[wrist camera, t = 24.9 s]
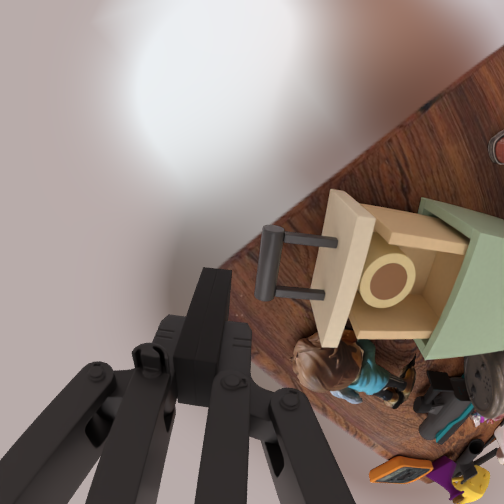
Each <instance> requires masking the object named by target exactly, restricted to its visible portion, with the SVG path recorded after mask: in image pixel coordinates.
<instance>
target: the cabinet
mask: <svg viewBox="0 0 504 504" xmlns="http://www.w3.org/2000/svg"><path fill="white" fill-rule="evenodd" d="M418 214H421V215H425V216H430V217H435V218H440V219H442V220H443V221H445V222H446V223H448V224H449V225H451V226H452V227H454V228H455V229H457V230H458V231H460V232H461V233H463V234H464V235H465V236H467V237H468V238H470V239H471V240H470V243H469V246H468V249H467V252H466V255H465V258H464V260H463V263H462V266H461V269H460V271H459V274H458V277H457V279H456V282H455V284H454V287H453V289H452V292H451V294H450V296H449V299H448V301H447V303H446V306H445V308H444V310H443V312H442V314H441V316H440V319H439V321H438V323H437V325H436V327H435V329H434V331H433V333H432V335H431V337H430V338H427V339H413V340H414V341H415V343H416V345H417V346H418V348H419V350H420V352H421V353H422V355H423V357H424V359H425V360H431V359H443V358H452V357H461V356H469V355H477V354H484V353H490V352H497V351H503V350H504V220H503V219H500V218H497V217H494V216H490V215H487V214H484V213H480V212H477V211H473V210H470V209H466V208H463V207H459V206H455V205H452V204H448V203H444V202H440V201H436V200H432V199H428V198H424V197H421V201H420V206H419V210H418Z"/></svg>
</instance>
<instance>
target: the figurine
mask: <svg viewBox="0 0 504 504" xmlns="http://www.w3.org/2000/svg"><path fill="white" fill-rule="evenodd" d="M293 356H294V357H291V358H289V360H290V361H291V362H293V371H294V372H295V374H297V378H299V380H300V383H301V384H302V385H303V386H305V387H307V388H308V389H310V390H311V391H314V392H318V393H322V392H329V391H330V392H331V393H332V394H333V395H334V396H336V397H338V398H343V399H345V400H347V401H348V402H350V403H352V404H358V403H361V402H363V401H362V398H361V397H360V396H359V394H358V393H359V392H366V395H367V394H369V395H375V396H377V397H380V398H382V399H383V400H384V404H385V405H387V406H389V407H392V408H393V409H397V408H398V406H399V405H400V404H402V403H403V402H404V401H406V400H407V398H408V397H409V395H410V393H411V391H412V389H413V386H414V383H415V379H416V371H415V367H414V365H415V359H416V353H415V356H414V359H413V360H412V361H411V362H410V363H409V364H408V365H406V366H404V367H403V369H402V370H401V371H400V373H399V374H398V376H395V375H393V374H391V373H390V372H388V371H387V370H385V369H384V368H382V367H380V366H378V365H377V364H376V363H375V345H374V344H373V343H372V342H371V341H370V340H369V339H357V337H356V335H355V332H354V331H352V330H343V333H342V336H341V339H340V342H339V344H338V347H337V348H330V347H321V342H320V338H319V334H318V332H316V333H315V334H313V335H312V336H310V337H309V338H303V339H299V341H298V342H297V344H296V345H295V348H294V352H293Z"/></svg>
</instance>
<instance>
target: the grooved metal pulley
mask: <svg viewBox="0 0 504 504" xmlns="http://www.w3.org/2000/svg"><path fill="white" fill-rule="evenodd" d="M469 417H470V419H471V421H472V423H473V425H474V427H477V426H478V425H480V422H479V421H480V419H481V418H480V415H479V416H478V415H477V411H476V410H474V411H473V412H472V413H471V415H470V416H469ZM486 420H487V418H484V421H486Z"/></svg>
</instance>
